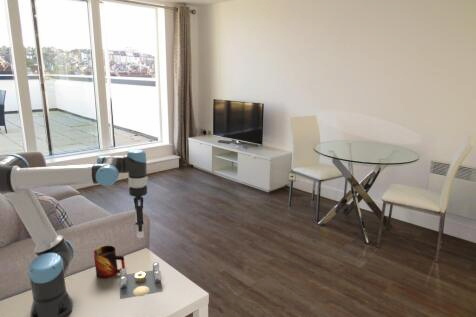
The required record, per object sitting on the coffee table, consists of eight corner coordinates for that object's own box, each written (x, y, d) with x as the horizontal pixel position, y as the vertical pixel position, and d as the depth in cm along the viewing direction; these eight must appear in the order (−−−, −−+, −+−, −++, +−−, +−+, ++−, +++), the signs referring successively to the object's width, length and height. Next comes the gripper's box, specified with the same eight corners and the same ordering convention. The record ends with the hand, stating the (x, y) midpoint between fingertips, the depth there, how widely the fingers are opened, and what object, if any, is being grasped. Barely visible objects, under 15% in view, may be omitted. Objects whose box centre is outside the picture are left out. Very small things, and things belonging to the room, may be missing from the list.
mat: (120, 300, 146) (119, 299, 146) (120, 276, 163) (120, 275, 163) (162, 292, 151) (162, 291, 151) (158, 270, 168) (158, 269, 168)
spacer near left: (120, 289, 152) (119, 280, 151) (120, 285, 155) (119, 276, 154) (127, 288, 153) (126, 278, 152) (127, 284, 156) (126, 275, 155)
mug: (125, 276, 162) (123, 253, 159) (94, 280, 159) (91, 257, 156) (127, 265, 171) (125, 243, 169) (98, 269, 169) (95, 247, 166)
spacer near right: (154, 284, 157) (154, 274, 156) (154, 280, 160) (153, 270, 158) (161, 282, 158) (160, 273, 156) (160, 279, 160) (160, 269, 159)
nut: (136, 283, 157) (136, 278, 156) (133, 278, 161) (133, 274, 160) (147, 280, 160) (147, 275, 159) (144, 275, 163) (144, 270, 163)
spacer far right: (153, 275, 163) (152, 266, 162) (152, 272, 166) (152, 262, 165) (159, 274, 164) (159, 265, 163) (159, 271, 167) (158, 261, 166)
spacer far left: (120, 280, 159) (119, 271, 157) (120, 277, 162) (119, 267, 160) (127, 279, 160) (126, 270, 158) (127, 276, 162) (126, 266, 161)
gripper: (149, 194, 137) (150, 242, 142) (145, 176, 160) (146, 218, 165) (129, 196, 135) (131, 244, 140) (128, 177, 157) (130, 219, 163)
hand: (139, 230), depth 152 cm, fingers open, 13 cm apart
